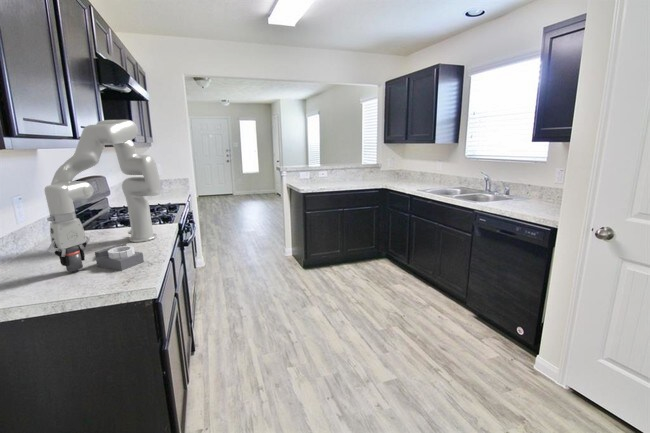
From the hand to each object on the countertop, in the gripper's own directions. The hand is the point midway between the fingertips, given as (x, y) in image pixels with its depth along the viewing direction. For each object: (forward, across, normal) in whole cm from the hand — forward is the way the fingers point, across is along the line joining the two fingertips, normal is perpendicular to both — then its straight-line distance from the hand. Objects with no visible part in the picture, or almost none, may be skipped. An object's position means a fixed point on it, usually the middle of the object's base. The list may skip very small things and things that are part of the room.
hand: (73, 262), depth 131 cm
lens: (+3, 0, 0) cm, 3 cm away
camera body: (+4, +12, -10) cm, 16 cm away
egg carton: (+5, +19, +3) cm, 20 cm away
